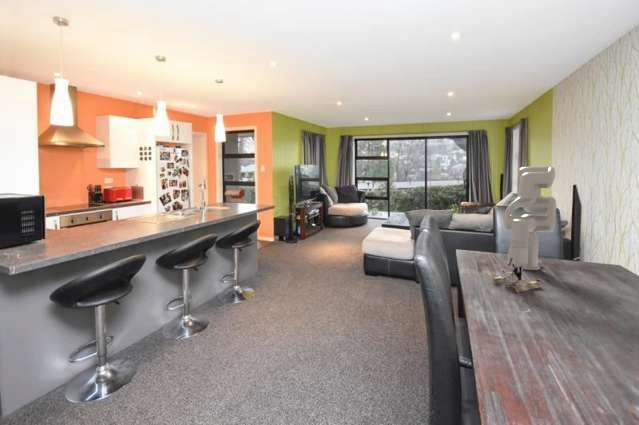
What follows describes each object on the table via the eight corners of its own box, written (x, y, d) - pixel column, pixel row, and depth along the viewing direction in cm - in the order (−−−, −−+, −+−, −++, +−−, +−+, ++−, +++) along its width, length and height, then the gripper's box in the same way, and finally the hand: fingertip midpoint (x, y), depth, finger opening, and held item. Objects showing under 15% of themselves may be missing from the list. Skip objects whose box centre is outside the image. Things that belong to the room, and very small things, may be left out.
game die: (509, 292, 171) (518, 275, 172) (517, 292, 163) (526, 274, 164) (492, 283, 172) (501, 266, 174) (500, 282, 164) (509, 265, 166)
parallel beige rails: (513, 279, 181) (513, 272, 180) (540, 287, 168) (540, 279, 168) (492, 283, 174) (492, 276, 174) (518, 292, 161) (519, 284, 161)
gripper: (521, 240, 175) (519, 275, 177) (502, 244, 169) (500, 279, 171) (536, 243, 168) (534, 279, 171) (516, 247, 162) (514, 284, 164)
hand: (517, 279), depth 171 cm, fingers closed
